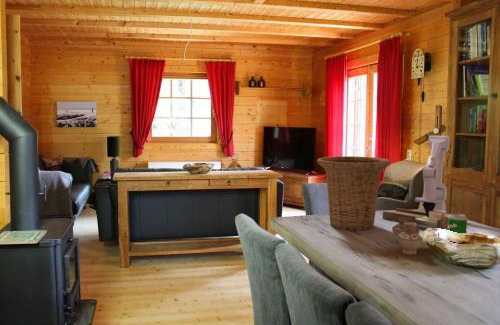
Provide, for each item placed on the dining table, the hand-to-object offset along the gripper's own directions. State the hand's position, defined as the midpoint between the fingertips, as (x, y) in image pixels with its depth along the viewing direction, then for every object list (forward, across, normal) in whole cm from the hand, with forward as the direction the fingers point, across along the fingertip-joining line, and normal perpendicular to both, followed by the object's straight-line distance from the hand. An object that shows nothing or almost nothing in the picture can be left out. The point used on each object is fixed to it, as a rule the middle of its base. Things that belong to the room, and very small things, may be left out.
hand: (428, 217), depth 241 cm
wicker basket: (+4, -24, -32) cm, 40 cm away
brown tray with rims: (+3, -6, 0) cm, 7 cm away
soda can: (+4, +25, -24) cm, 35 cm away
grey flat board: (+3, +2, 0) cm, 4 cm away
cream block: (+1, +5, 0) cm, 5 cm away
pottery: (+4, +15, -48) cm, 50 cm away
